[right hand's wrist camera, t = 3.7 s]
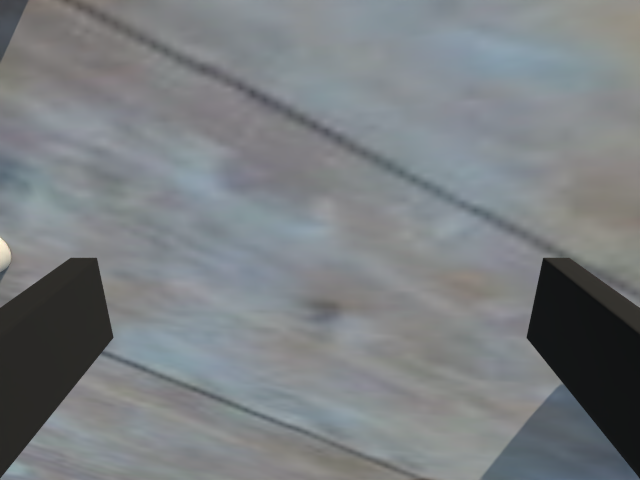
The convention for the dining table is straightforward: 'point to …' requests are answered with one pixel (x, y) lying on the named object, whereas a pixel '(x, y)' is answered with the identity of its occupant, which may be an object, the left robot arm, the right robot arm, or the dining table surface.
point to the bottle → (4, 255)
